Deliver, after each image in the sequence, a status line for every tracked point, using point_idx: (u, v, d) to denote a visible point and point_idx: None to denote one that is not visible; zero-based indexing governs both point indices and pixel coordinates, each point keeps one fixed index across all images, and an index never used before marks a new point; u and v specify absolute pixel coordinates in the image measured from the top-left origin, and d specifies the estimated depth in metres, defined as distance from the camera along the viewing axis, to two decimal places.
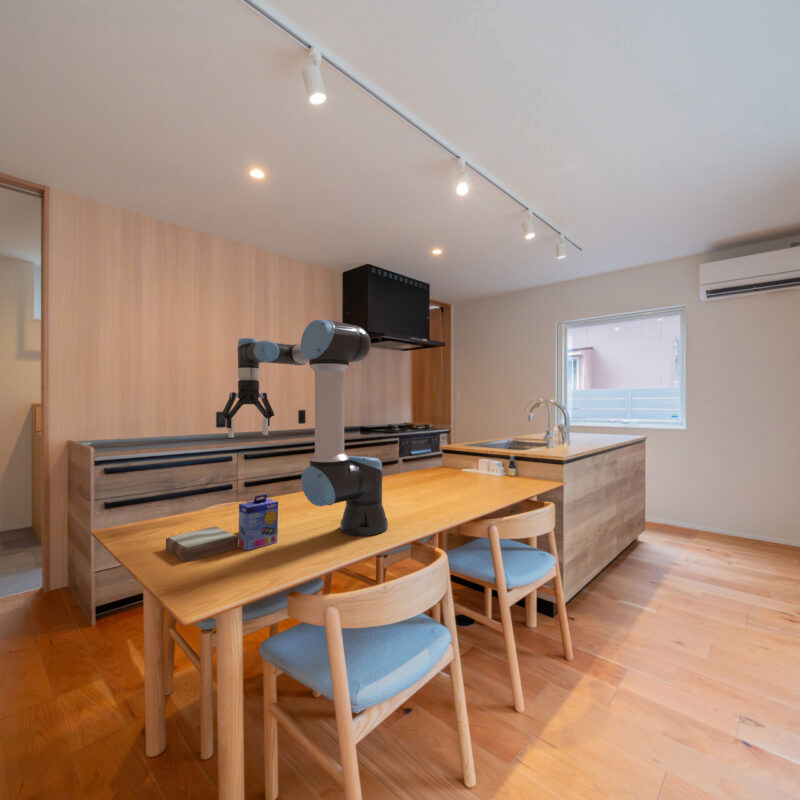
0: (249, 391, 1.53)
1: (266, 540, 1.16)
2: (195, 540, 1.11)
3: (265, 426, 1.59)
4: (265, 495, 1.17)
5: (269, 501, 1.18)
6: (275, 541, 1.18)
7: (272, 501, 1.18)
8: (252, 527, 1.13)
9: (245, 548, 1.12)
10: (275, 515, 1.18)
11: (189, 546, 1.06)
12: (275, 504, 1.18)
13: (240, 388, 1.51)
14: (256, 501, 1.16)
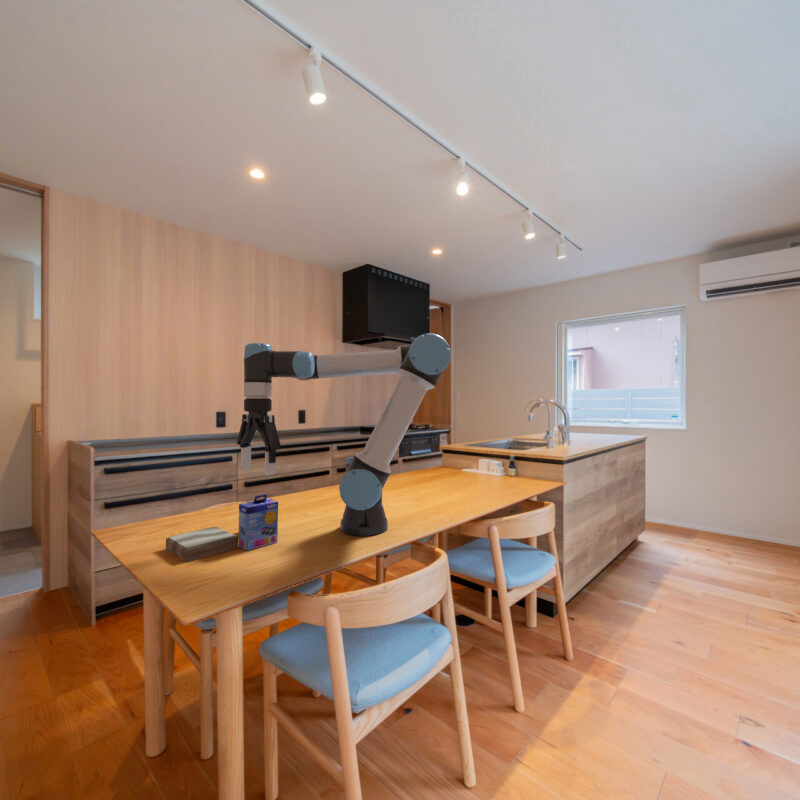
0: (253, 413, 1.16)
1: (266, 540, 1.16)
2: (195, 540, 1.11)
3: None
4: (265, 495, 1.17)
5: (269, 501, 1.18)
6: (275, 541, 1.18)
7: (272, 501, 1.18)
8: (252, 527, 1.13)
9: (245, 548, 1.12)
10: (275, 515, 1.18)
11: (189, 546, 1.06)
12: (275, 504, 1.18)
13: None
14: (256, 501, 1.16)
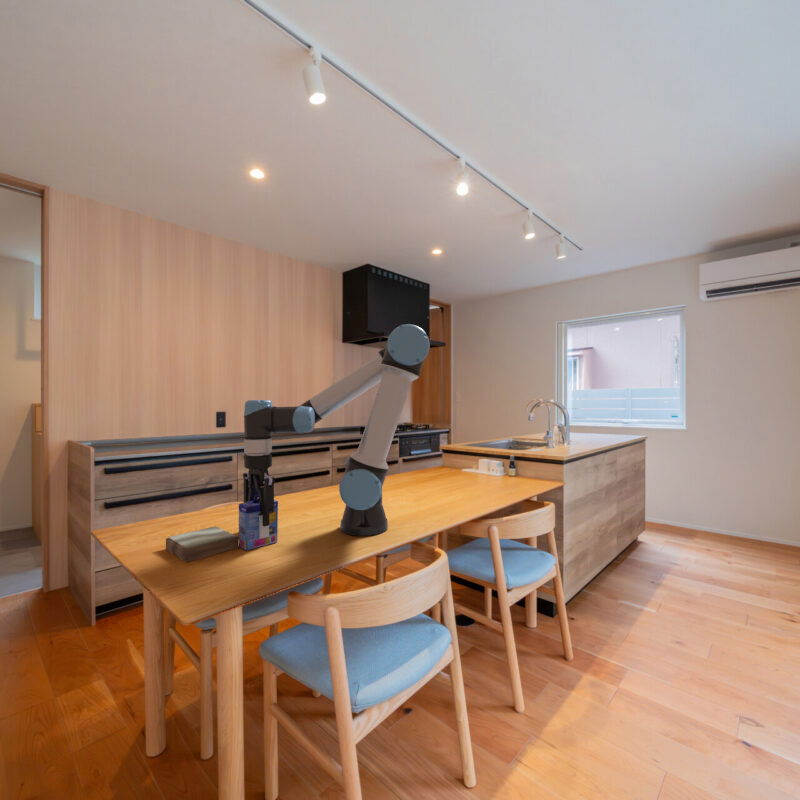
0: (254, 469, 1.16)
1: (266, 539, 1.16)
2: (195, 540, 1.11)
3: None
4: None
5: None
6: (275, 541, 1.18)
7: None
8: (252, 527, 1.13)
9: (245, 548, 1.12)
10: (275, 514, 1.18)
11: (189, 546, 1.06)
12: (275, 503, 1.18)
13: None
14: (256, 501, 1.16)
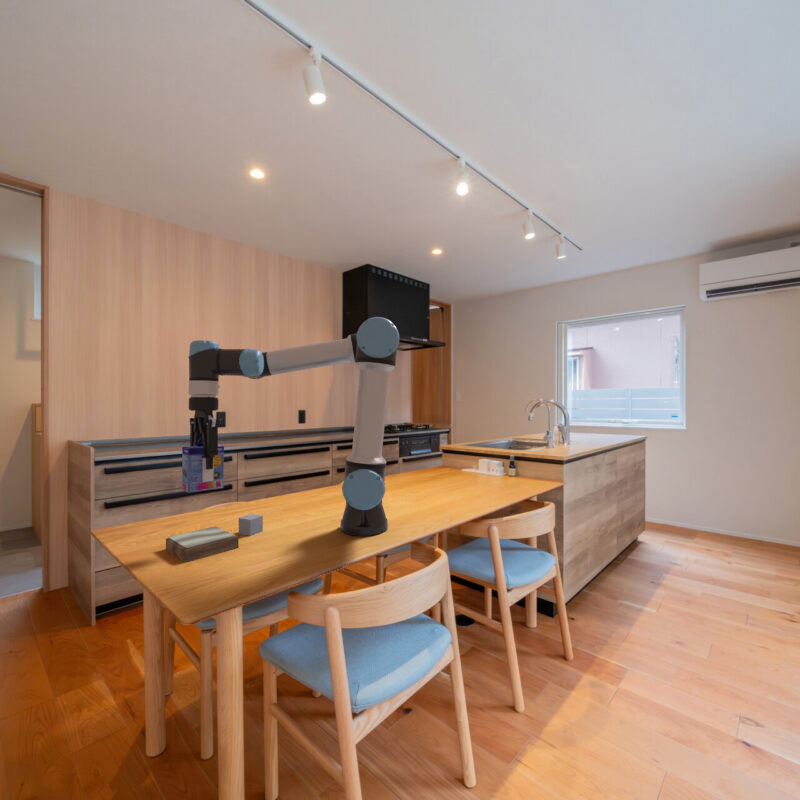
0: (199, 412, 1.14)
1: (210, 484, 1.13)
2: (195, 540, 1.11)
3: None
4: None
5: None
6: (221, 486, 1.15)
7: (218, 445, 1.16)
8: (195, 469, 1.10)
9: (187, 490, 1.09)
10: (221, 459, 1.15)
11: (189, 546, 1.06)
12: (220, 448, 1.15)
13: None
14: (200, 444, 1.13)
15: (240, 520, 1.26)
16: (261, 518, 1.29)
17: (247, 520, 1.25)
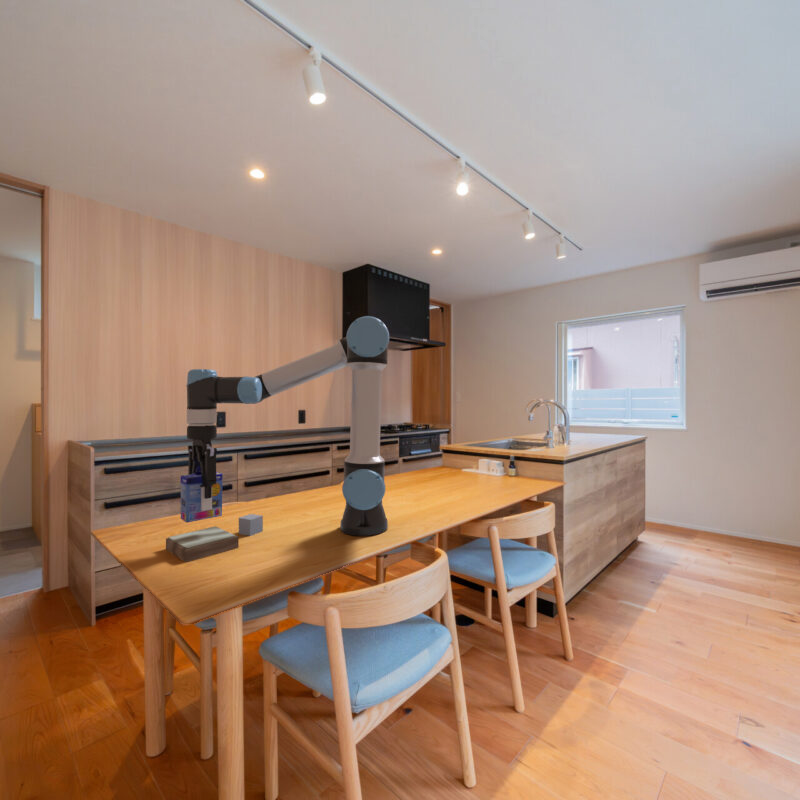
0: (197, 440, 1.13)
1: (209, 512, 1.13)
2: (195, 540, 1.11)
3: None
4: None
5: None
6: (219, 514, 1.15)
7: (216, 473, 1.16)
8: (193, 498, 1.10)
9: (186, 520, 1.09)
10: (219, 487, 1.15)
11: (189, 546, 1.06)
12: (219, 476, 1.15)
13: None
14: (198, 473, 1.13)
15: (240, 520, 1.26)
16: (261, 518, 1.29)
17: (247, 520, 1.25)
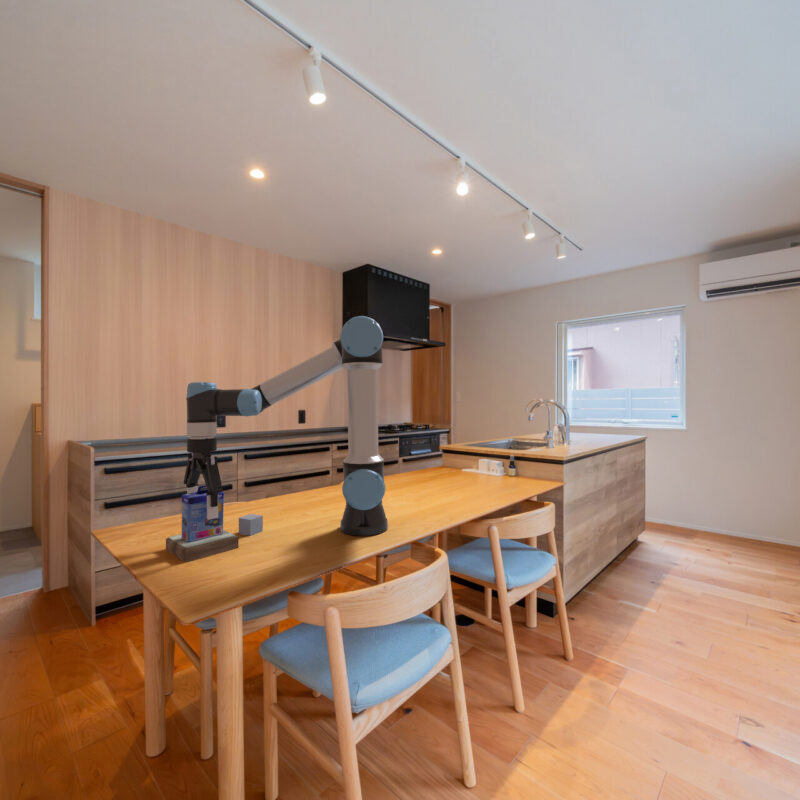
0: (197, 453, 1.13)
1: (210, 531, 1.13)
2: None
3: None
4: None
5: None
6: (220, 533, 1.15)
7: None
8: (195, 518, 1.10)
9: (187, 540, 1.09)
10: (220, 506, 1.15)
11: (189, 546, 1.06)
12: (220, 495, 1.15)
13: None
14: (200, 491, 1.13)
15: (240, 520, 1.26)
16: (261, 518, 1.29)
17: (247, 520, 1.25)
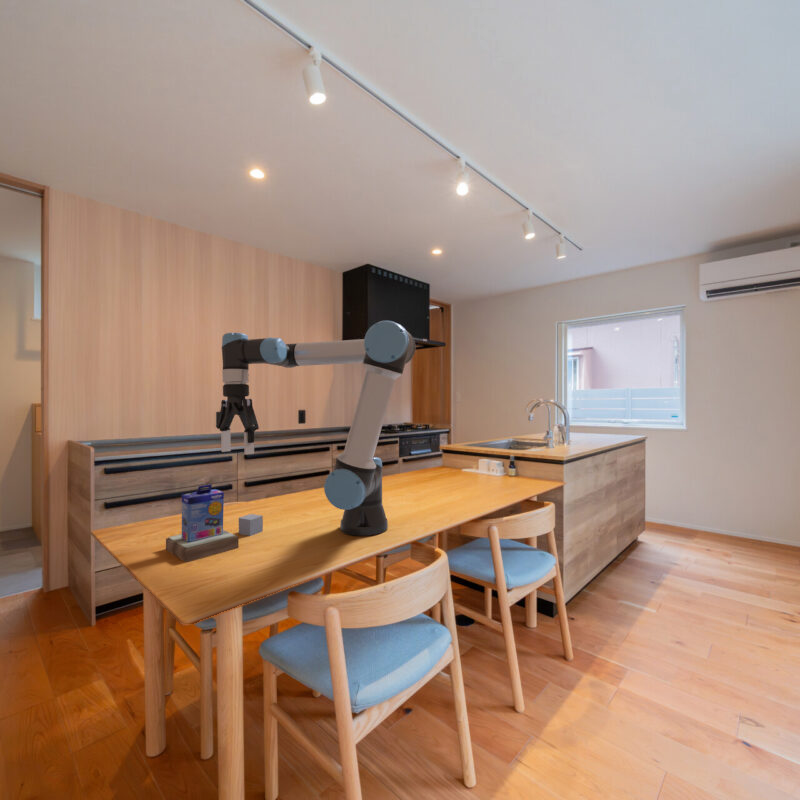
0: (232, 398, 1.25)
1: (210, 531, 1.13)
2: None
3: None
4: (210, 485, 1.14)
5: (214, 492, 1.15)
6: (220, 533, 1.15)
7: (217, 492, 1.15)
8: (195, 518, 1.10)
9: (187, 540, 1.09)
10: (220, 506, 1.15)
11: (189, 546, 1.06)
12: (220, 495, 1.15)
13: None
14: (200, 491, 1.13)
15: (240, 520, 1.26)
16: (261, 518, 1.29)
17: (247, 520, 1.25)
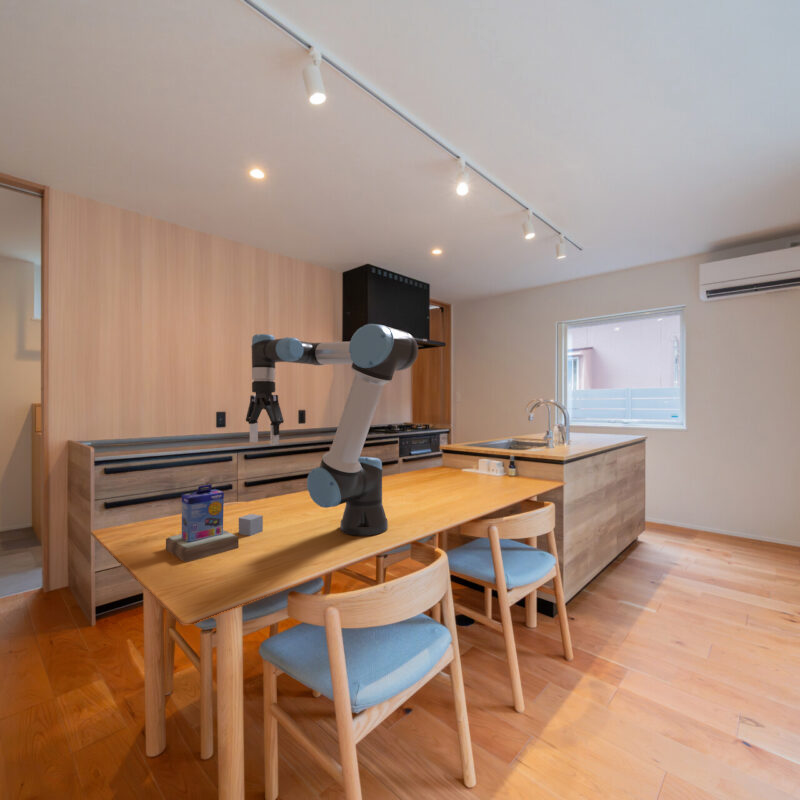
0: (260, 393, 1.37)
1: (210, 531, 1.13)
2: None
3: None
4: (210, 485, 1.14)
5: (214, 492, 1.15)
6: (220, 533, 1.15)
7: (217, 492, 1.15)
8: (195, 518, 1.10)
9: (187, 540, 1.09)
10: (220, 506, 1.15)
11: (189, 546, 1.06)
12: (220, 495, 1.15)
13: None
14: (200, 491, 1.13)
15: (240, 520, 1.26)
16: (261, 518, 1.29)
17: (247, 520, 1.25)
